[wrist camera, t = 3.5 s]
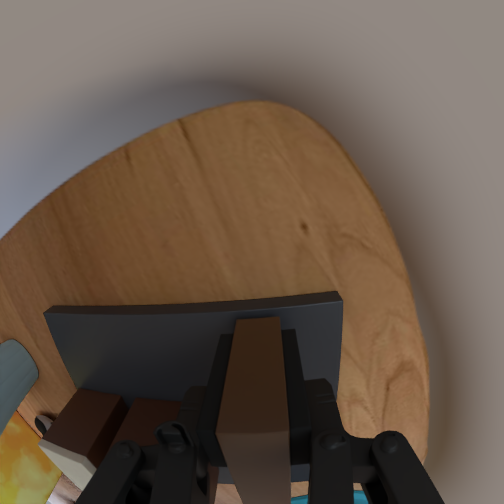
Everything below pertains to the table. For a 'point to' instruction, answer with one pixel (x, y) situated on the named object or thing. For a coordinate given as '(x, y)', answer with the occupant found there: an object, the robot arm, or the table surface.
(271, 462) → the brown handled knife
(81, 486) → the brown white-topped blocks
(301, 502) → the decorative object
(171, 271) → the table surface
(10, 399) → the cup
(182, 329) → the board
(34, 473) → the mottled yellow carton
